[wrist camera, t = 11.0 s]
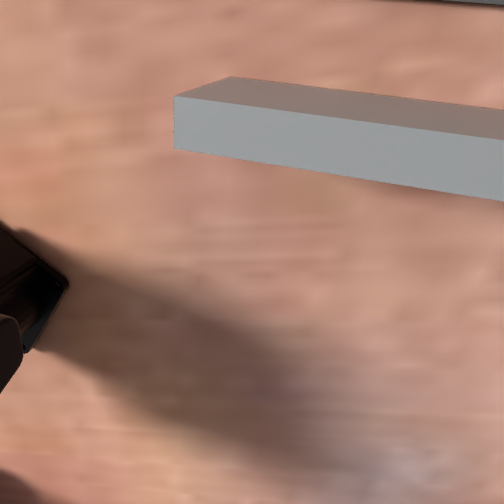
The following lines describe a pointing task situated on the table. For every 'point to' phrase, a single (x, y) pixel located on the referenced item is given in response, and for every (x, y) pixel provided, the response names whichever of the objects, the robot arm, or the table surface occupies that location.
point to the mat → (482, 1)
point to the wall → (347, 134)
